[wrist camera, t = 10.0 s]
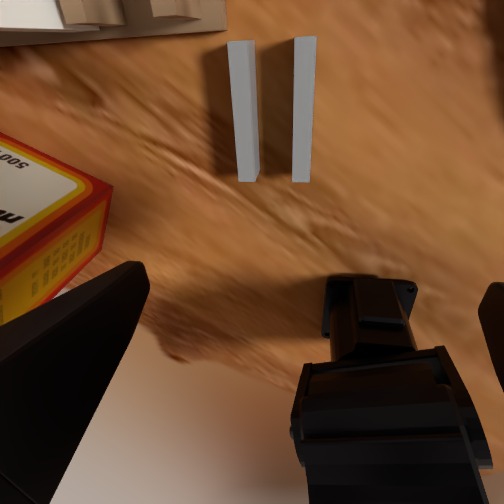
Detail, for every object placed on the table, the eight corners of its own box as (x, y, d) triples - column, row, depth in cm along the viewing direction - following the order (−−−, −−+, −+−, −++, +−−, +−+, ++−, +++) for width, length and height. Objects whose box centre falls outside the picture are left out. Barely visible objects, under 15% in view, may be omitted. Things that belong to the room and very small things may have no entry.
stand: (310, 170, 20) (309, 182, 18) (244, 170, 20) (238, 181, 19) (316, 35, 16) (316, 35, 14) (235, 41, 17) (227, 41, 15)
